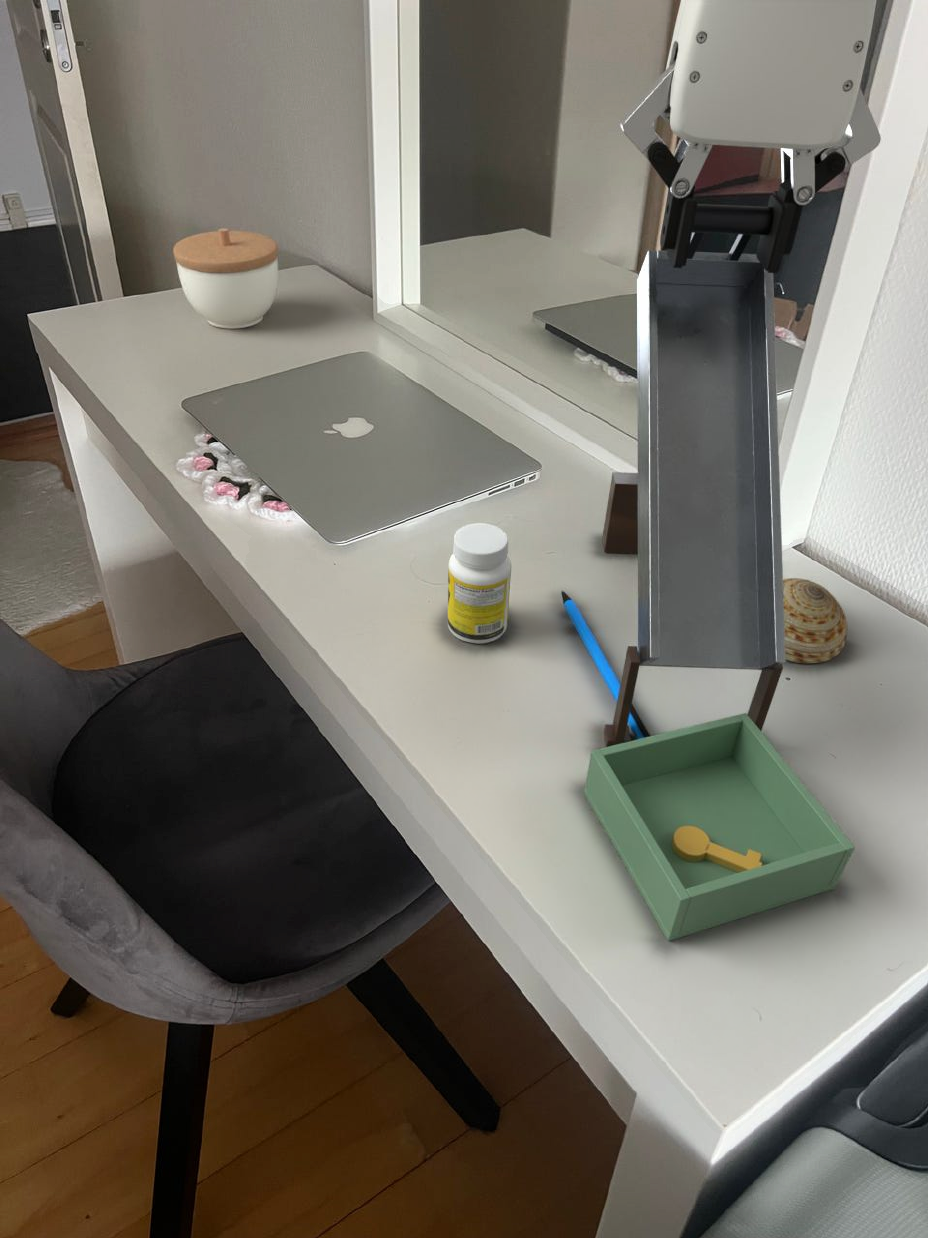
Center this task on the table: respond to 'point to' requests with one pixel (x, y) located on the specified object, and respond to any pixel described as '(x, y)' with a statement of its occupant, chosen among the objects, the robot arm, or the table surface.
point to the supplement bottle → (479, 583)
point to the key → (711, 850)
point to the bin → (713, 823)
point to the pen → (602, 664)
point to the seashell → (812, 622)
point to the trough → (709, 454)
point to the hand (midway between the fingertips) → (721, 260)
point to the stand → (624, 539)
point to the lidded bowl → (228, 276)
